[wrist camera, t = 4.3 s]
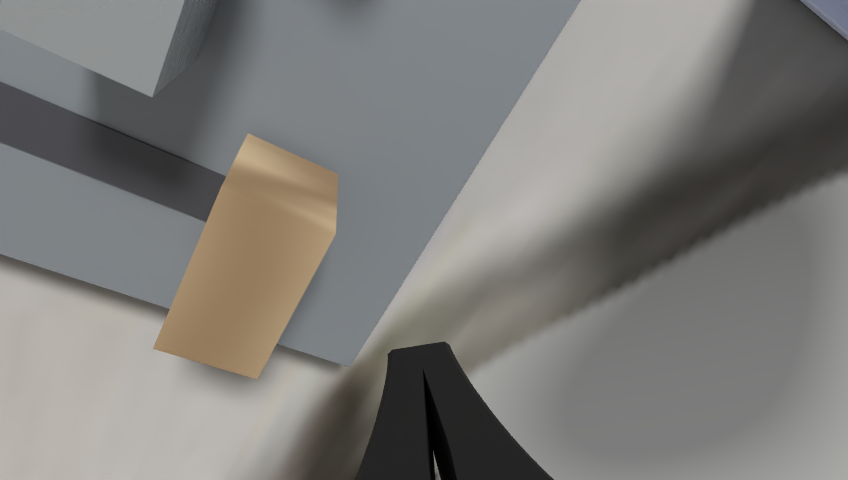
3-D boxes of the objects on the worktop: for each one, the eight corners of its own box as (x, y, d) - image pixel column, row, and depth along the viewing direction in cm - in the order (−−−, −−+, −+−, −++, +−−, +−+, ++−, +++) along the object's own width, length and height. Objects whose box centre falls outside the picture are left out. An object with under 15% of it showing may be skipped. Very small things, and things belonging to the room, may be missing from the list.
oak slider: (338, 174, 14) (335, 233, 11) (272, 300, 16) (257, 379, 13) (247, 132, 13) (221, 186, 10) (189, 270, 15) (153, 348, 12)
